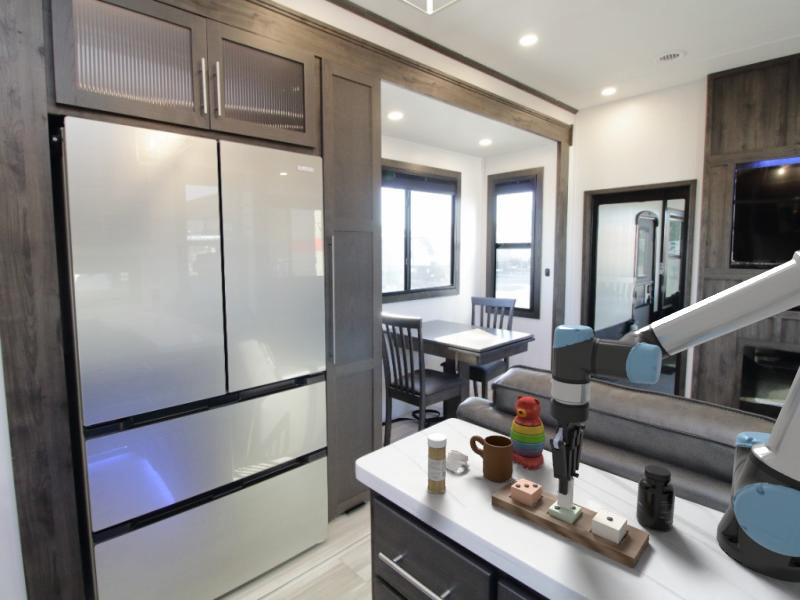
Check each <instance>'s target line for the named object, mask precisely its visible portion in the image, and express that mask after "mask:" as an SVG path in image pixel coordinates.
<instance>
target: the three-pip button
mask: <svg viewBox="0 0 800 600" xmlns="http://www.w3.org/2000/svg"><path fill="white" fill-rule="evenodd" d="M517 481H518V482H516V483H515V484H514V485H512V486H511V498H512V499H514V500H516V501H519V502H521V503H523V504H526V505H528V506H530V507H533V506H534V505H535V504H536V503H537V502H538V501H539V500H540V499H541V498H542V491H543V485H540V484H539V483H535V482H533V481H530V480H528V479H525V478H523V477H522V478H520V479H519V480H517Z"/></svg>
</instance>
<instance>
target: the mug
mask: <svg viewBox="0 0 800 600" xmlns="http://www.w3.org/2000/svg"><path fill="white" fill-rule="evenodd" d="M477 443H479V444H480V445H481V446H482V448H479V447H478V445H477ZM469 446H470V448H471V451H473V452H474V453H475V454H476V455H478V456H479V457H481V459H482V473H483V476H484V477H485V478H486V479H487V480H489V481H492V482H494V483H506V482H508V481H511V479H512V477H513V471H514V470H513V469H514V467H513V466H514V461H513V442H512V440H511V438H509V437H507V436H503V435H500V434H499V435H497V434H495V435H494V434H493V435H488V436H486V437H482V436H481V435H473V436H472V437H470V439H469Z"/></svg>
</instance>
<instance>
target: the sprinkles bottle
mask: <svg viewBox="0 0 800 600" xmlns="http://www.w3.org/2000/svg"><path fill="white" fill-rule="evenodd" d="M447 439H448V438H447V436H446V435H445V434H443V433H432V434H429V435H428V436H427V447H428V448H427V449H428V451H427V453H428V454H427V490H428V491H429V492H430V493H432V494H436V495H437V494H442V493H444V492H445V491H446V488H447V487H446V477H447V474H446V473H447V468H446V455H447V452H446V451H447V449H446V448H447V445H448V444H447Z"/></svg>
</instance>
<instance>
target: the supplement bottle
mask: <svg viewBox="0 0 800 600" xmlns="http://www.w3.org/2000/svg"><path fill="white" fill-rule="evenodd" d="M675 503H676V488H675V486H674V484H673V483H672V472H671V471H670V469H668V468H666V467H664V466H661V465H658V464H648V465H646V466H645V467H644V473H643V476H642V477H640V478H639V481H638V483H637V498H636V513H635V515H636V519H637V522H638V523H640V524H641V525H642V526H643V527H645V528H647V529H649V530H652V531H655V532H664V533H665V532H668V531H671V530H672V528H673V526H674V513H675Z"/></svg>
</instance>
